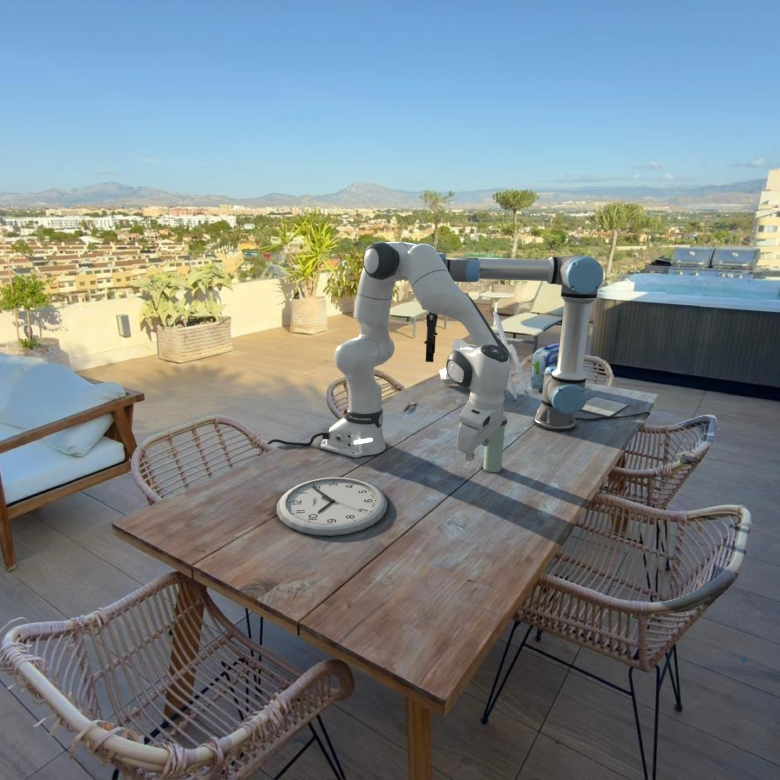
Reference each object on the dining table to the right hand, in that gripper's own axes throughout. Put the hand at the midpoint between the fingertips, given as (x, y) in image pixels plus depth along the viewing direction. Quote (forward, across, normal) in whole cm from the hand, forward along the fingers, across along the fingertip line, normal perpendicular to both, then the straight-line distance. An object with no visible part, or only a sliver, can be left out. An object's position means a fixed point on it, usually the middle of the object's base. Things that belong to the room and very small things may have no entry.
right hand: (430, 357), depth 190 cm
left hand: (+13, +54, +16) cm, 57 cm away
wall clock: (+28, +61, -23) cm, 71 cm away
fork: (+28, -24, -9) cm, 38 cm away
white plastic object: (+28, -50, +22) cm, 61 cm away
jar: (+28, +31, +22) cm, 47 cm away
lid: (+11, +31, +22) cm, 39 cm away
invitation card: (+28, -38, +73) cm, 87 cm away
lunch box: (+28, -63, +56) cm, 89 cm away
